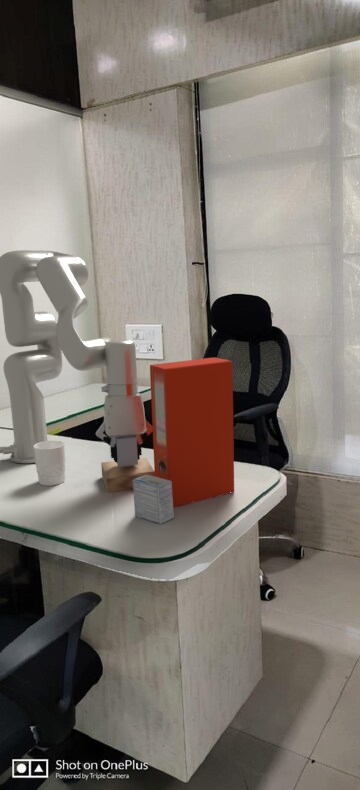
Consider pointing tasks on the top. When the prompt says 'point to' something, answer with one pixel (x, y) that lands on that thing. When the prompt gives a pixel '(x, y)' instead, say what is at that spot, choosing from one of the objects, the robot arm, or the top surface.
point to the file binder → (193, 427)
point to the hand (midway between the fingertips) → (126, 458)
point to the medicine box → (153, 498)
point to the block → (126, 450)
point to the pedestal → (124, 474)
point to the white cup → (50, 462)
